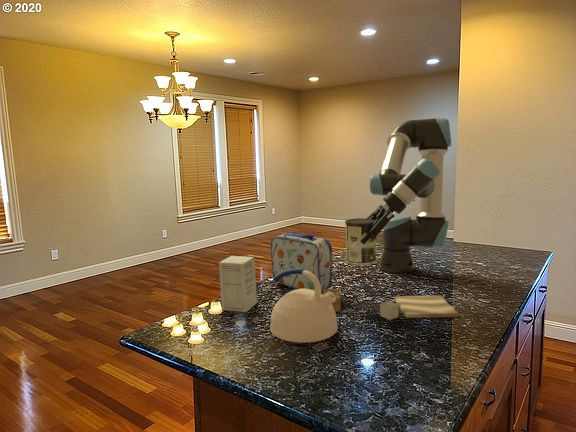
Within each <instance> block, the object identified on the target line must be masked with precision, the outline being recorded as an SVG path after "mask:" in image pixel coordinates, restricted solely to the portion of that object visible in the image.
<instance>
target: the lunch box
mask: <svg viewBox="0 0 576 432" xmlns="http://www.w3.org/2000/svg"><path fill="white" fill-rule="evenodd" d="M270 258H271V270H272V271H271V272H272V276H273V279H274V278H275V277H276V276H277V275H279V274H281V273H283V272H286V271H290V270H297V269H300V270H306V271H309V272H311V273H313V274H314V275H315V276H316V277H317V279H318V280H319V282H320V285H321V291H323V289H331V287H332V286H331V285H332V282H333V281H332V280H333V265H334V263H335V262H336V260H335V256H334V254H333V246H332V244H331V242H330V241H329V240H327V238H324V237H321V236H320V237H319V236H315V235H314V234H307V235H306V234H302V233H298V232H290V231H288V232H284V233H283V234H279V235H277V236H273V237H272V238H271V240H270ZM276 282H277V283H278V284H281V285H285V287H286V286H287V287H289V288H290V289H292V290H297V289H310V290H314V291H315V287H314V283H313V282H312V280H311V279H310V278H309V277H308V276H306V275H304V274H291V275H287V276H285V277H283V278H281V279H280V280H279V281H276Z"/></svg>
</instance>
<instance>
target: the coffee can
mask: <svg viewBox="0 0 576 432" xmlns="http://www.w3.org/2000/svg"><path fill="white" fill-rule="evenodd" d="M374 222H375V220H373V219H366V218H361V217H360V218H359V217H358V218H349V219H347V220H345V221H344V223H345V257H346V258H345V262H346V263H347V264H349V265H353V266H370V265H374V264H376V263H377V237H376V238H374V237H373V238H371V239H370V240H369V241H368V242H367V243H366V244H365V245H364V246H363V247H362V248H361V249H360V250H359V251H358V252H356V251H355V250H354V249H353V248H352V247H351V246H352V245H353V244H354V243H355V242H356V241H357V240H358V239H359V238H360V237H361V236H362V235H363V234H364V233H365V231H366V230H367V231H368V230H369V229H370V227H371V226H372V224H373V223H374ZM366 234H367V233H366Z"/></svg>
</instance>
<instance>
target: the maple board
mask: <svg viewBox="0 0 576 432" xmlns="http://www.w3.org/2000/svg"><path fill="white" fill-rule="evenodd" d="M394 301H395V304H397V305H399V309H400V310H401V312H402V314H403V315H404V317H405V318H406V319H408V318H409V319H416V318H420V319H421V318H422V317H425V318H459V312H458V311H457V310H456V309H455V308H454V307H453V306H452V305H451V304H449V302H447V301H446V299H445V298H444V297H443V296H441V295H405V296H403V295H401V296H399V295H397V296H394Z"/></svg>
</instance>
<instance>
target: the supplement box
mask: <svg viewBox="0 0 576 432" xmlns="http://www.w3.org/2000/svg"><path fill="white" fill-rule="evenodd" d="M255 262H256V260H255V256H243V255H242V256H241V255H240V256H239V255H238V256H236V255H230V256H228V257H227V258H225V259H222V260H221V261H219V263H218V266H219V269H218V270H219V281H220V282H219V283H220V284H219V285H220V297H221V299H220V300H221V301H220V302H221V310H222V311H229V312H241V313H247V312H248V311H250V310H251V309H252V308H253V307H254V306H255V305H257V303H258V297H257V280H256V265H255V264H256V263H255Z"/></svg>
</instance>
